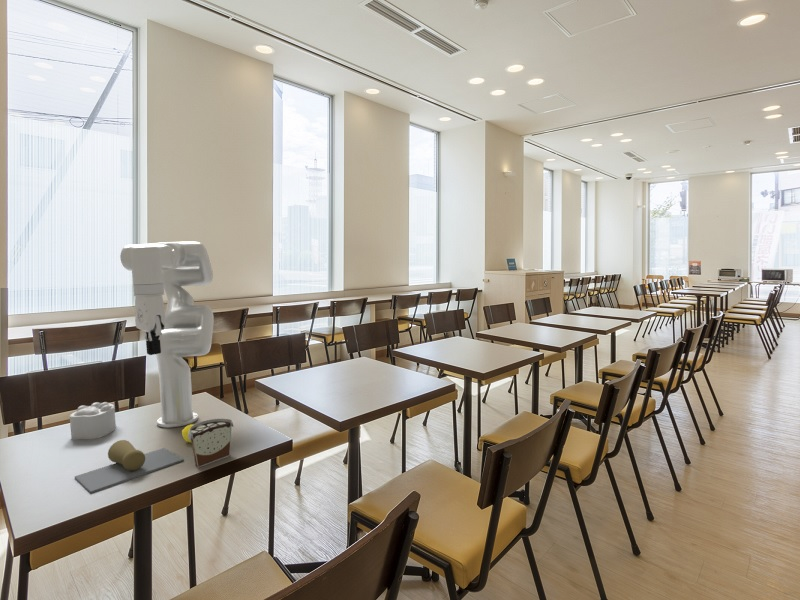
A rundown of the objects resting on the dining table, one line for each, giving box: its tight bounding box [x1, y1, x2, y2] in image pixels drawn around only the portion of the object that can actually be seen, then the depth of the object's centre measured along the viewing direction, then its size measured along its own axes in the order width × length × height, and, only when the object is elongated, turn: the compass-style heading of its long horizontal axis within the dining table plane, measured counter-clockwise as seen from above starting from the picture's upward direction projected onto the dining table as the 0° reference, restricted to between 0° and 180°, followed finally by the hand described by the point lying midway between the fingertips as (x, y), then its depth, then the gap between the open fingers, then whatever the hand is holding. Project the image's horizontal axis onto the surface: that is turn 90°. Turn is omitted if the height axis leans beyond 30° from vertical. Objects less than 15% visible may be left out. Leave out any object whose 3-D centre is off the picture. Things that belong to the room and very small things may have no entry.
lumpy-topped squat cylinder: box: [69, 401, 117, 440], centre depth 148 cm, size 10×13×9 cm
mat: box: [74, 447, 185, 494], centre depth 121 cm, size 12×22×1 cm, turn 140°
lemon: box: [181, 423, 196, 444], centre depth 139 cm, size 7×5×5 cm
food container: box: [188, 418, 234, 469], centre depth 127 cm, size 12×6×10 cm, turn 141°
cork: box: [107, 439, 145, 471], centre depth 122 cm, size 6×6×11 cm
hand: (154, 353), depth 132 cm, fingers closed
